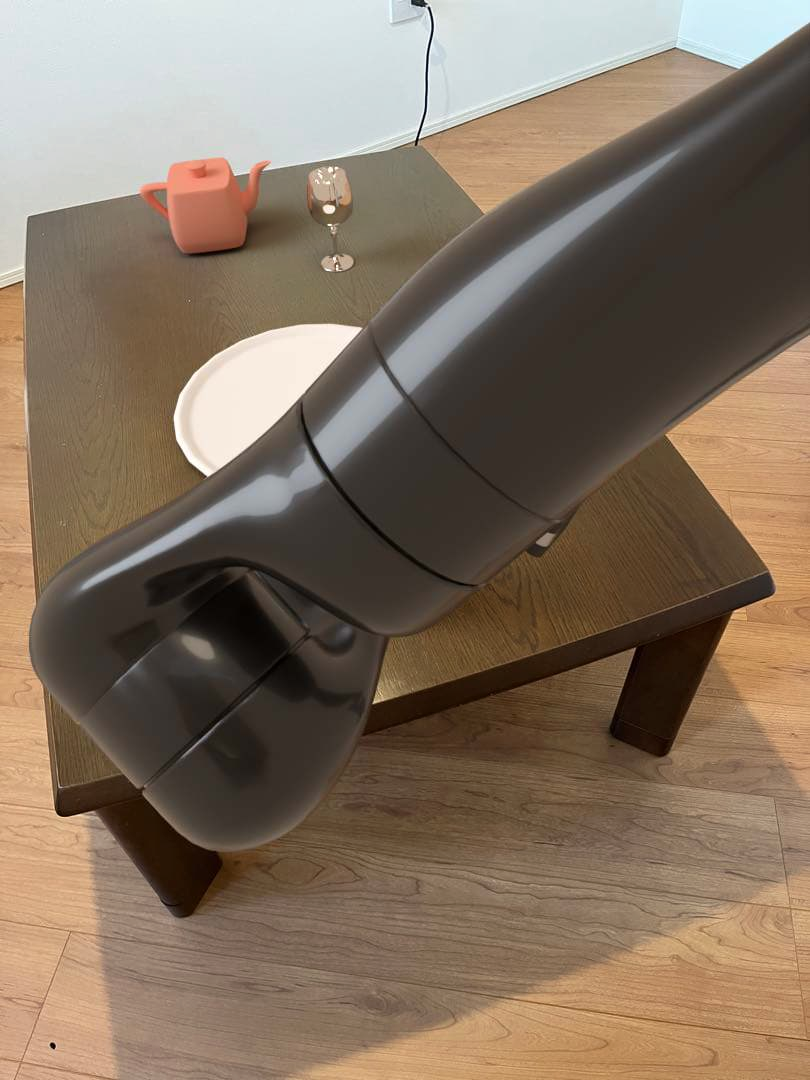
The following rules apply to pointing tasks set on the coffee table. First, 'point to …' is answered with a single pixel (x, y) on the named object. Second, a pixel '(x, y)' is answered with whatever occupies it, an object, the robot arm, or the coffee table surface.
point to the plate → (251, 389)
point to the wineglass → (331, 209)
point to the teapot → (205, 204)
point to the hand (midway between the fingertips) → (496, 429)
